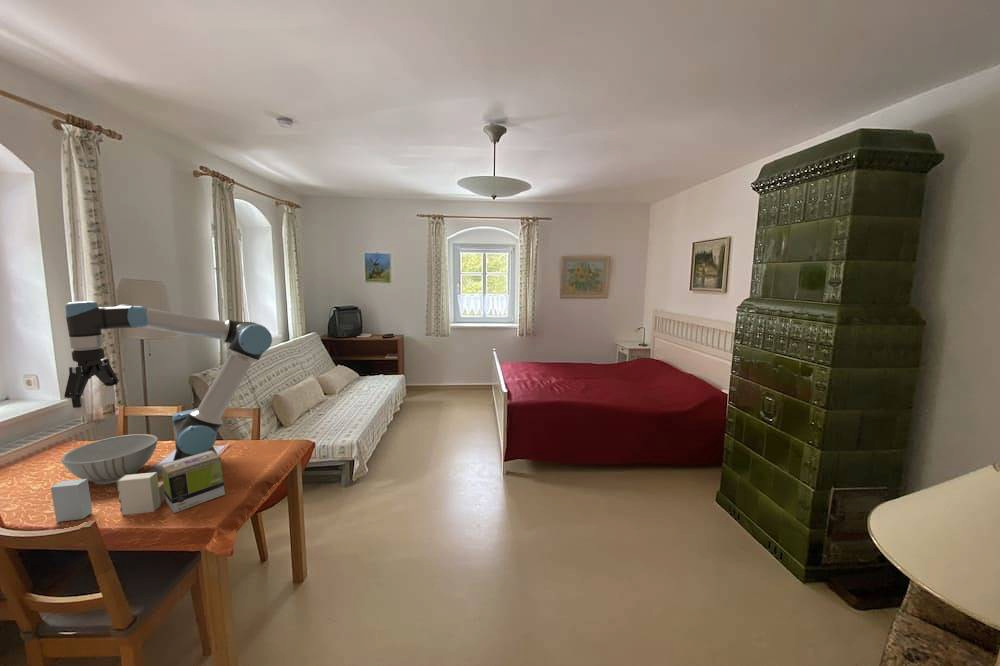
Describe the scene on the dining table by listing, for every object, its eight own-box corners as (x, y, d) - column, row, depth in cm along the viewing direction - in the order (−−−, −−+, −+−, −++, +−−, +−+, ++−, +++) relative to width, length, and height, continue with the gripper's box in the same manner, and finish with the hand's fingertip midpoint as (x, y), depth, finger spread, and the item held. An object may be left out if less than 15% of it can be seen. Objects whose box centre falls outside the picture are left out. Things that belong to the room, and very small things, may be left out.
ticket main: (139, 500, 139) (134, 467, 138) (169, 497, 141) (165, 464, 140) (121, 515, 130) (116, 480, 129) (153, 511, 133) (149, 477, 131)
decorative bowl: (103, 498, 140) (98, 466, 139) (45, 490, 146) (40, 459, 144) (178, 464, 166) (174, 436, 165) (127, 458, 172) (123, 431, 170)
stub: (66, 514, 130) (61, 481, 129) (92, 511, 132) (87, 478, 130) (56, 521, 127) (50, 487, 125) (83, 518, 128) (77, 484, 127)
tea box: (216, 486, 149) (212, 448, 147) (225, 495, 143) (221, 456, 141) (165, 503, 137) (160, 463, 135) (172, 514, 131) (167, 472, 129)
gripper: (101, 342, 143) (109, 399, 146) (40, 355, 119) (51, 423, 122) (126, 342, 145) (133, 398, 148) (71, 354, 121) (81, 421, 124)
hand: (96, 410), depth 135 cm, fingers open, 13 cm apart
